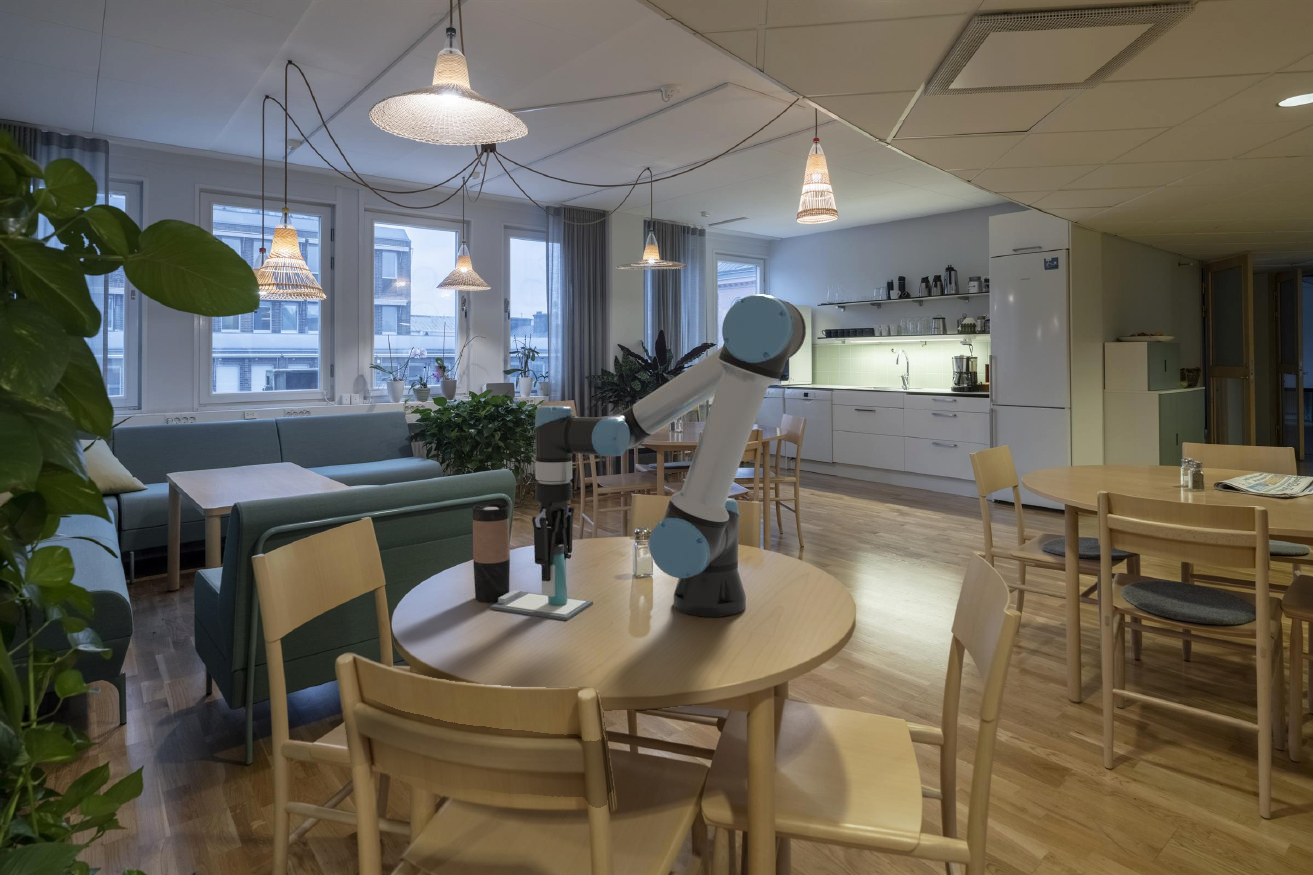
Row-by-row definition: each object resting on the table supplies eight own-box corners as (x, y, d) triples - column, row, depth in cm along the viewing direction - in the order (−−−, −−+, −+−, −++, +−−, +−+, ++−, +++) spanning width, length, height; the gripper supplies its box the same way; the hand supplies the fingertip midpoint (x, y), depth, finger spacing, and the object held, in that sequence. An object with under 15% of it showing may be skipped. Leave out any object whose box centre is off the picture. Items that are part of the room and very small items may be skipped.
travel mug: (501, 604, 154) (500, 510, 152) (467, 602, 155) (465, 509, 153) (515, 593, 161) (514, 504, 159) (483, 591, 163) (481, 502, 161)
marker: (570, 598, 154) (565, 542, 154) (565, 604, 150) (561, 546, 149) (550, 599, 155) (545, 543, 154) (545, 605, 151) (540, 547, 150)
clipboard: (592, 603, 155) (592, 596, 154) (567, 620, 144) (567, 612, 144) (519, 593, 161) (519, 586, 161) (490, 608, 151) (490, 601, 151)
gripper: (558, 474, 160) (558, 579, 162) (515, 485, 144) (516, 601, 146) (589, 476, 157) (588, 583, 159) (548, 488, 141) (549, 606, 143)
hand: (554, 591), depth 153 cm, fingers closed on marker, 4 cm apart
